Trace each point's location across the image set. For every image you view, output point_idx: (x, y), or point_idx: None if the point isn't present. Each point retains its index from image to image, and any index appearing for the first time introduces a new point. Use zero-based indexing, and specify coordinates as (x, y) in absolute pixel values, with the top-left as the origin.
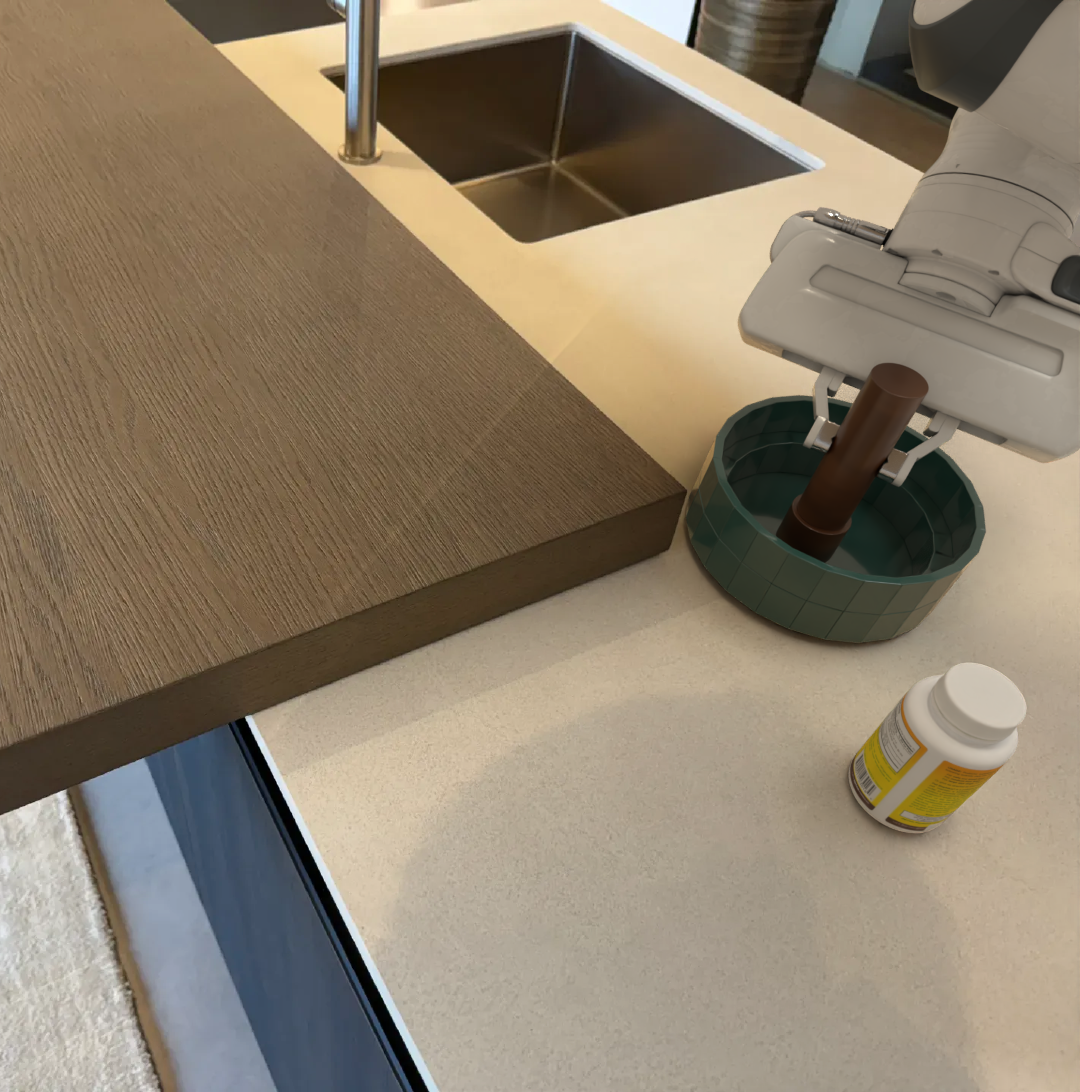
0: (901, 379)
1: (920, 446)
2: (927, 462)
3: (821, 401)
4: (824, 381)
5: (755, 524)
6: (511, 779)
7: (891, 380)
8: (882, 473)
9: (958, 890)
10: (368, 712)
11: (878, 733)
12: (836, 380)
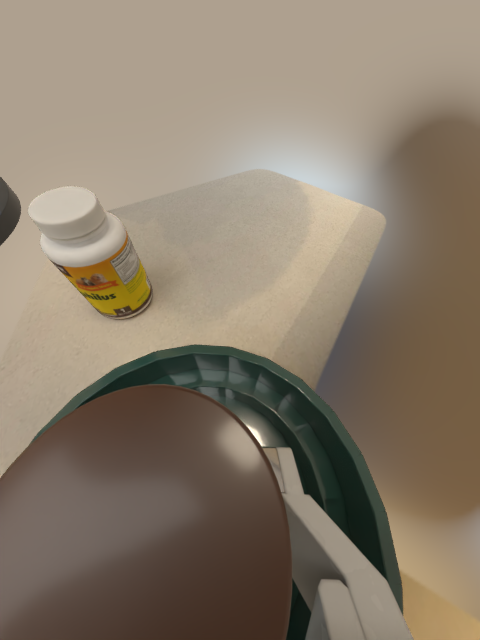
0: (118, 559)
1: None
2: None
3: (325, 528)
4: (372, 605)
5: (272, 366)
6: (296, 231)
7: (175, 500)
8: None
9: None
10: (363, 230)
11: (139, 264)
12: (348, 629)
